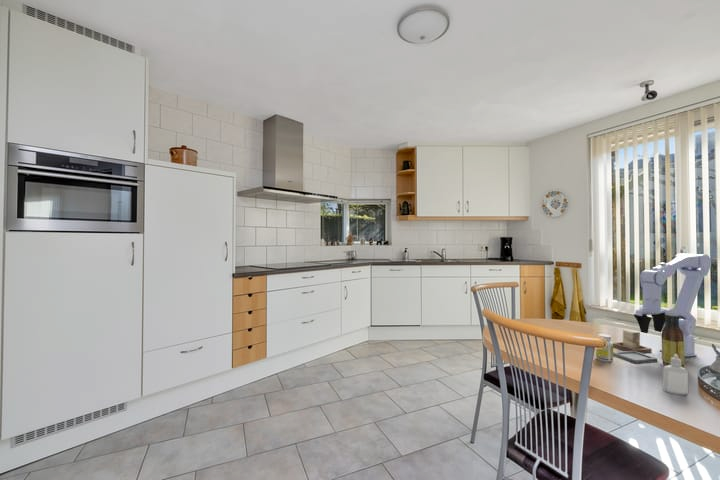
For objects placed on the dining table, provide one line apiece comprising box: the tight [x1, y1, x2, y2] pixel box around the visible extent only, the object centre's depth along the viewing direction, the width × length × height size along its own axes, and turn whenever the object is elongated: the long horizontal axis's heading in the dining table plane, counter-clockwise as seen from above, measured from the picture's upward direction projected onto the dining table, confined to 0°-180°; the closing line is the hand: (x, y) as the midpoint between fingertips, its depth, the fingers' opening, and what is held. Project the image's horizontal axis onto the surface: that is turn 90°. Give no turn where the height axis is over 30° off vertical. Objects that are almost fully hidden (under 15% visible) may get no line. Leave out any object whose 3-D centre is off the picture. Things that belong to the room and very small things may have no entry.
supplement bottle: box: [595, 333, 614, 363], centre depth 130 cm, size 5×5×10 cm
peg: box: [622, 329, 641, 349], centre depth 143 cm, size 4×4×8 cm
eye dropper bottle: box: [662, 354, 689, 396], centre depth 102 cm, size 4×6×12 cm
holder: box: [612, 341, 653, 354], centre depth 143 cm, size 10×10×2 cm
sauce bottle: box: [661, 314, 685, 368], centre depth 124 cm, size 7×6×20 cm
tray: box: [613, 350, 658, 364], centre depth 132 cm, size 11×9×1 cm
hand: (651, 331), depth 134 cm, fingers open, 7 cm apart
